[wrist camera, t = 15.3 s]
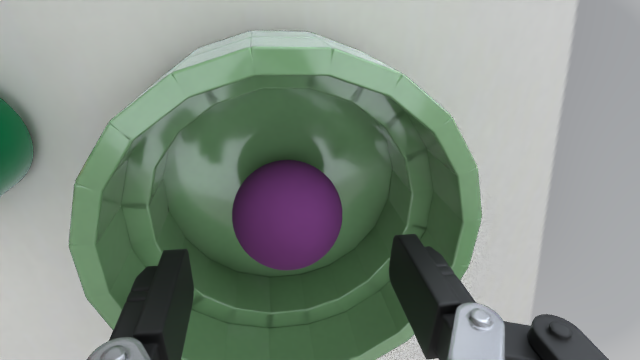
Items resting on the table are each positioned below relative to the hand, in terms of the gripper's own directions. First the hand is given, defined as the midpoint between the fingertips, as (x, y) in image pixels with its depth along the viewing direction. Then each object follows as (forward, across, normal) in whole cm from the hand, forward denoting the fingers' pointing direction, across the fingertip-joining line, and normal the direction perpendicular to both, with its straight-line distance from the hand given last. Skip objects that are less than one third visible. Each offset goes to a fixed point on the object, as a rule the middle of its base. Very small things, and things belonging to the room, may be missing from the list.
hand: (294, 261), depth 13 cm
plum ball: (+3, 0, 0) cm, 3 cm away
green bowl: (+6, 0, 0) cm, 6 cm away
